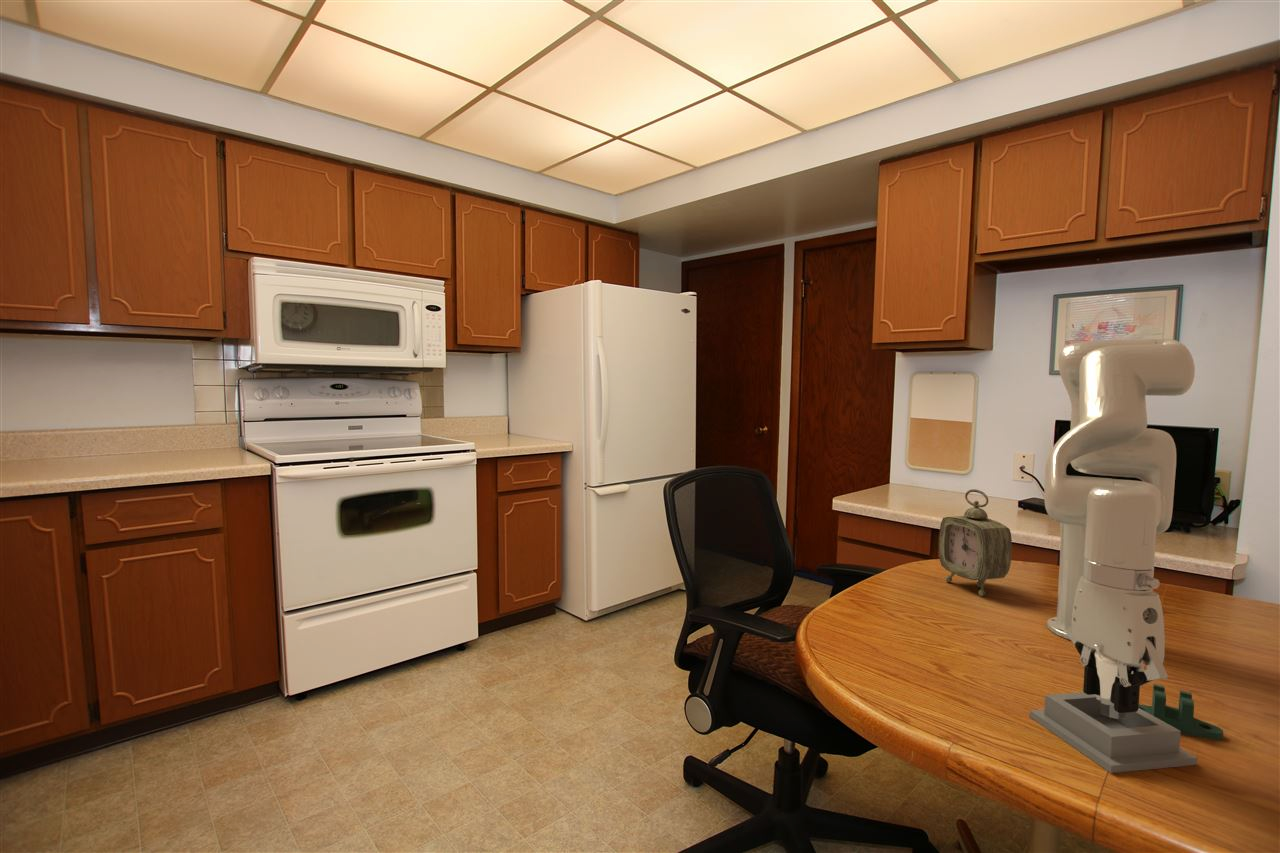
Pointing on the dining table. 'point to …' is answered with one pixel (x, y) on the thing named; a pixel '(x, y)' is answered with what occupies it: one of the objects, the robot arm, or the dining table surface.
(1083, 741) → the socket
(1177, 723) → the mount
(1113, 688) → the milkshake
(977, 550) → the tabletop clock
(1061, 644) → the dining table surface
